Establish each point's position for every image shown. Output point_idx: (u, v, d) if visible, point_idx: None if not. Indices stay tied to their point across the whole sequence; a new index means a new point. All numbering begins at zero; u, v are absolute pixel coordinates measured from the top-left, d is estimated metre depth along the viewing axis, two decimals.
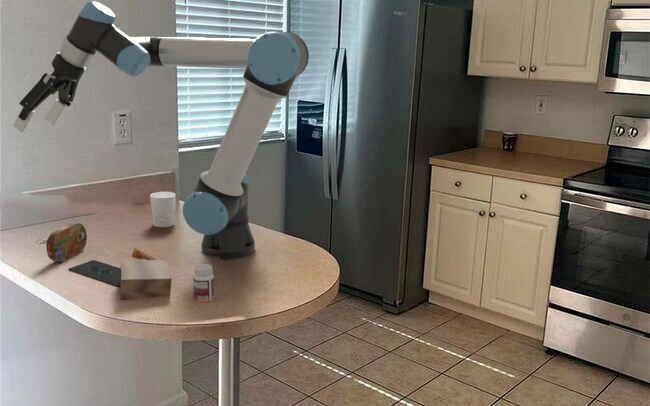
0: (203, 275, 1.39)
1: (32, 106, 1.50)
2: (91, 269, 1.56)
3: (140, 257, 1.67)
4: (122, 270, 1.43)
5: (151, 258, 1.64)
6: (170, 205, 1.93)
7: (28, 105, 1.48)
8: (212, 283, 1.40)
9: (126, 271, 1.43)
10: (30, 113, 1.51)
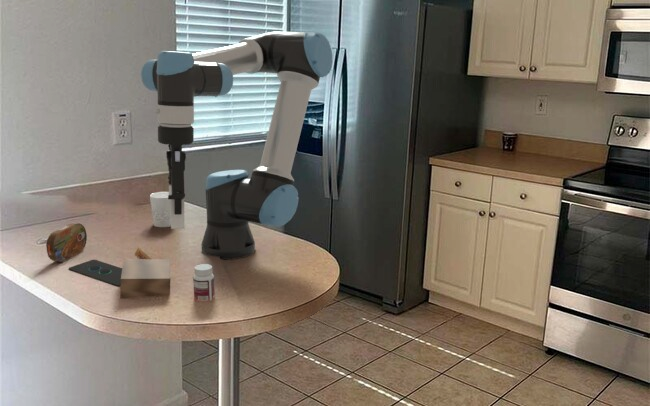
0: (203, 275, 1.39)
1: None
2: (91, 268, 1.57)
3: (141, 257, 1.67)
4: (123, 269, 1.44)
5: (149, 258, 1.64)
6: None
7: (182, 192, 1.25)
8: (212, 283, 1.40)
9: (127, 270, 1.44)
10: (182, 202, 1.28)
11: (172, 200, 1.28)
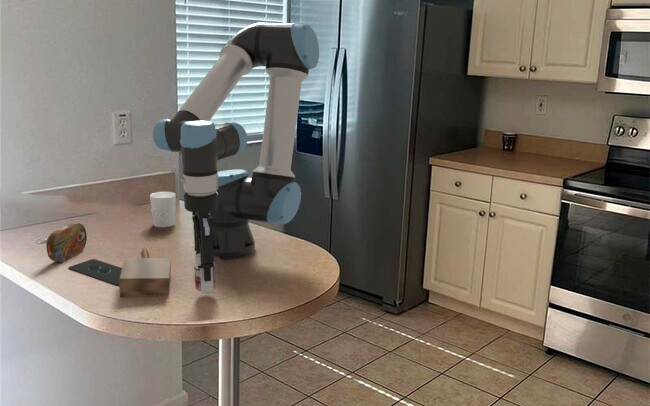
0: None
1: None
2: (91, 268, 1.57)
3: (142, 256, 1.68)
4: (123, 268, 1.44)
5: None
6: (170, 205, 1.93)
7: (212, 262, 1.35)
8: (213, 271, 1.40)
9: (126, 269, 1.44)
10: (211, 269, 1.38)
11: (201, 268, 1.37)
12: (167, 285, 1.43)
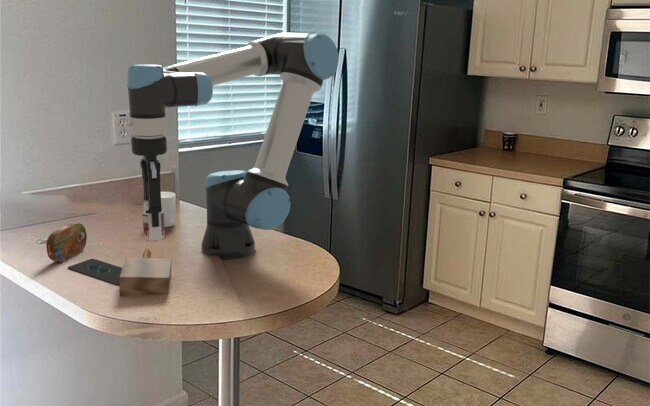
0: None
1: None
2: (90, 267, 1.57)
3: (143, 256, 1.68)
4: (123, 267, 1.45)
5: None
6: (170, 205, 1.93)
7: (159, 206, 1.34)
8: (161, 218, 1.39)
9: (127, 268, 1.45)
10: (159, 215, 1.37)
11: (149, 214, 1.37)
12: (167, 285, 1.43)
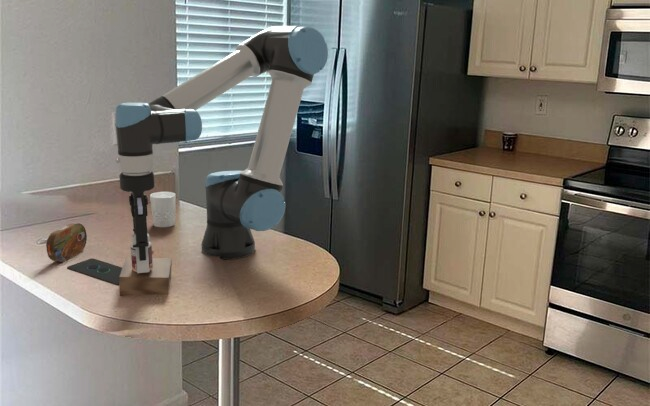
0: None
1: None
2: (90, 267, 1.57)
3: None
4: (123, 267, 1.45)
5: None
6: (170, 205, 1.93)
7: (146, 241, 1.37)
8: (149, 251, 1.43)
9: (127, 268, 1.45)
10: (146, 249, 1.41)
11: (137, 248, 1.40)
12: (166, 284, 1.43)
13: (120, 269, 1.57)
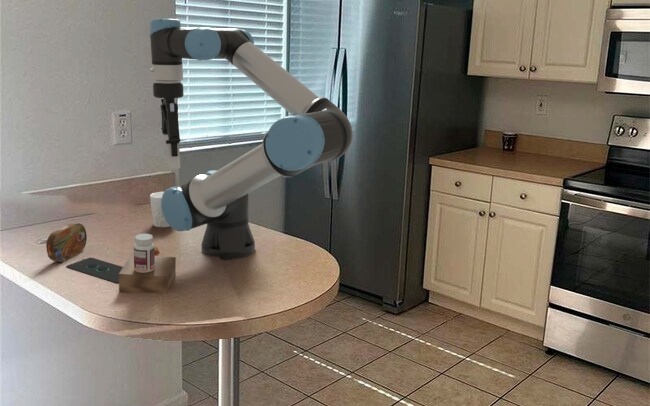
0: (141, 245, 1.41)
1: None
2: (89, 266, 1.58)
3: None
4: (125, 264, 1.47)
5: None
6: None
7: (178, 137, 1.51)
8: (151, 253, 1.43)
9: (129, 265, 1.47)
10: (178, 146, 1.54)
11: (169, 144, 1.53)
12: (164, 283, 1.43)
13: (119, 268, 1.58)
